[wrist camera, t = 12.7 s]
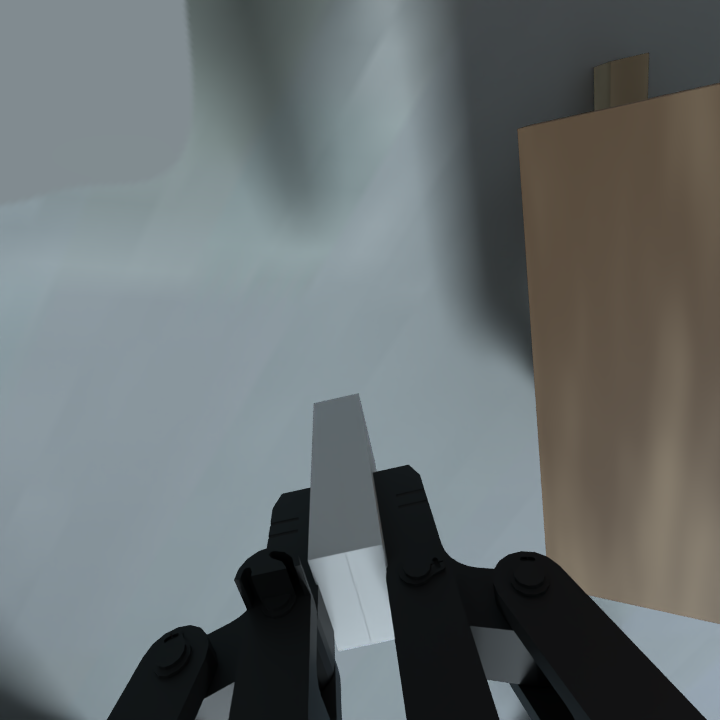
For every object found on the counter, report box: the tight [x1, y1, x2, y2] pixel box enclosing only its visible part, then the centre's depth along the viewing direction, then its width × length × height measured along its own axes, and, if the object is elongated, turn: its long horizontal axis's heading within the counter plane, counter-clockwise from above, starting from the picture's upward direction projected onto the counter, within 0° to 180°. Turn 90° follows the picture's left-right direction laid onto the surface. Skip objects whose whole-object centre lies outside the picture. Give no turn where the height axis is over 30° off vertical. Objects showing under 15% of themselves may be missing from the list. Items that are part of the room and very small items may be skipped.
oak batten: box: [594, 53, 649, 111], centre depth 22 cm, size 2×19×1 cm, turn 11°
